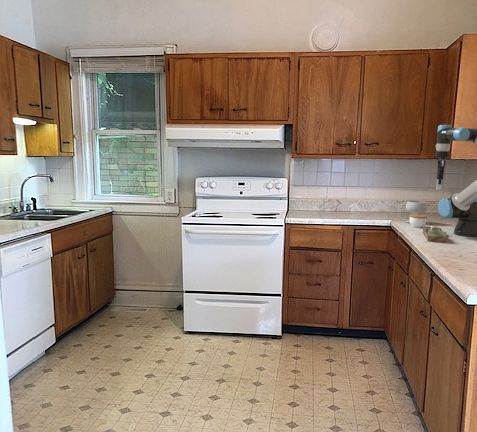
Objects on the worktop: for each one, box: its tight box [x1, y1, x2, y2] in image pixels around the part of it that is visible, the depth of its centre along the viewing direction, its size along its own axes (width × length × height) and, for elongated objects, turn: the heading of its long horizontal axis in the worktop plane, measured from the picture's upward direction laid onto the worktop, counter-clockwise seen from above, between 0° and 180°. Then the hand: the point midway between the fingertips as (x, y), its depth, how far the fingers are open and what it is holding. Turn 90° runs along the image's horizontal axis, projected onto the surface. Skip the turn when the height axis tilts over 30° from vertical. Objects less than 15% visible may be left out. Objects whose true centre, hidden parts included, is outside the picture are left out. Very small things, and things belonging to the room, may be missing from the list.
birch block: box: [430, 225, 442, 231], centre depth 238 cm, size 4×4×4 cm
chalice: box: [405, 200, 428, 224], centre depth 296 cm, size 14×14×15 cm
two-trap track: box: [422, 224, 447, 243], centre depth 246 cm, size 9×27×6 cm, turn 162°
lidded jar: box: [409, 213, 428, 229], centre depth 279 cm, size 11×11×9 cm
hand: (438, 189), depth 260 cm, fingers closed
